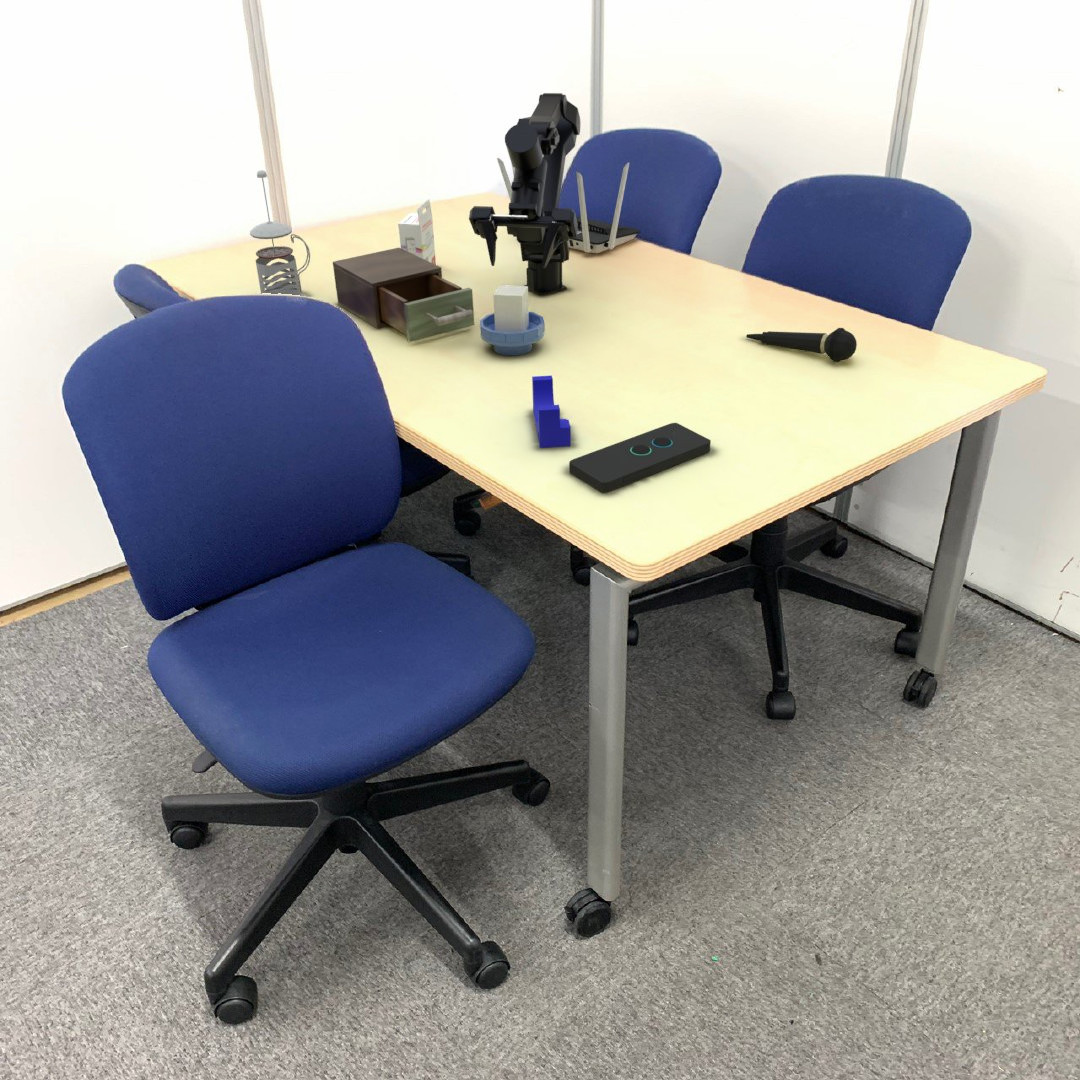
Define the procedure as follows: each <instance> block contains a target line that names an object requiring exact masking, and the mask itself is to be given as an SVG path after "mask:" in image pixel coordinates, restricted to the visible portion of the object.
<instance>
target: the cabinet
mask: <svg viewBox="0 0 1080 1080" xmlns="http://www.w3.org/2000/svg"><path fill="white" fill-rule="evenodd" d="M332 267H333V275H334V283H335V290H336V291H335V292H336V298H337V304H338V305H337V306H339V307H341V308H343V309H344V310H346V311H348V312H350V313H351V314H353V315H354V316H356V317H357V318H359V319H361V320H363V321H364V322H366V323H368V324H369V325H371V326H372V327H374V328H375V329H381V328H385V327H389V326H390V325H389V324H387V323H386V322H384V321H382V320H381V319H380V315H379V306H378V297H377V288H376V287H378V286H382V285H387V284H391V283H395V282H400V281H404V280H408V279H412V278H417V277H421V276H425V275H430V274H435V275H437V276H439V277H441V278H443V271H442V266H439V265H437V264H436V265H435V264H432V263H430V262H428V261H426V260H424V259H422V258H420V257H418V256H416V255H414V254H412V253H410V252H407V251H405V250H403V249H401V247H394V248H389V249H385V250H381V251H377V252H372V253H368V254H362V255H358V256H354V257H347V258H343V259H339V260H334V261H332Z"/></svg>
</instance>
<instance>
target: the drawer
mask: <svg viewBox="0 0 1080 1080" xmlns="http://www.w3.org/2000/svg"><path fill="white" fill-rule="evenodd" d="M376 288H377V297H378V306H379V315H380V319H381V320H382V321H384V322H386V323H387V324H389V326H391V327H393V328H395V329H396V330H397V331H399V332H401V333H403V334H405V335H406V337H407V341H408V342H410V343H412V342H416V341H420V340H424V339H428V338H431V337H435V336H438V335H442V334H446V333H449V332H453V331H457V330H461V329H465V328H468V327H473V326H475V314H474V313H475V312H474V298H473V295H474V293H473V289H472V288H471V287H466V288H462V287H461V286H459V285H457V284H456V283H453V282H451V281H449V280H447V279H445V278H443V277H442V278H441V277H439V276H437V275H435V274H430V275H425V276H421V277H417V278H412V279H408V280H404V281H400V282H395V283H391V284H387V285H382V286H378V287H376Z"/></svg>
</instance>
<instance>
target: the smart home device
mask: <svg viewBox="0 0 1080 1080" xmlns="http://www.w3.org/2000/svg"><path fill="white" fill-rule="evenodd" d="M711 443H712V442H711V439H709V438H707V437H705V436H703V435H702V434H699V433H697V432H696V431H694V430H692V429H690V428H688V427H686V426H684V425H682V424H680V423H678V422H671V423H668V424H665V425H662V426H659V427H657V428H654V429H651V430H648V431H646V432H643V433H641V434H638V435H636V436H632V437H630V438H627V439H624V440H621V441H619V442H616V443H614V444H610V445H608V446H605V447H602V448H600V449H597V450H595V451H592V452H589V453H587V454H584V455H581V456H579V457H575V458H573V459H571V460H570V461H569V462H568V464H569V465H568V470H569V471H568V473H569V474H571V475H573V476H574V477H576V478H578V479H579V480H581V481H582V482H584V483H586V484H587V485H589V486H590V487H592V488H593V489H595V490H597V491H598V492H600V493H601V494H602V493H603V494H605V493H610V492H612V491H614V490H617V489H619V488H621V487H624V486H627V485H630V484H632V483H634V482H637V481H639V480H642V479H645V478H647V477H650V476H653V475H655V474H657V473H660V472H662V471H664V470H668V469H670V468H673V467H675V466H677V465H681V464H682V463H685V462H688V461H690V460H692V459H695V458H697V457H698V458H699V457H701V456H702V455H706V454H708V453H709V452H710V451H711Z"/></svg>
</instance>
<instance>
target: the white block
mask: <svg viewBox="0 0 1080 1080" xmlns="http://www.w3.org/2000/svg"><path fill="white" fill-rule="evenodd" d="M529 312H530V310H529V290H528V286H524V285H506V284H499V286H498V287H497V289H496V290H495V292H494V293H493V313H494V317H495V331H499V332H506V333H508V332H523V331H526V330H527V328H528V327H529Z"/></svg>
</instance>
